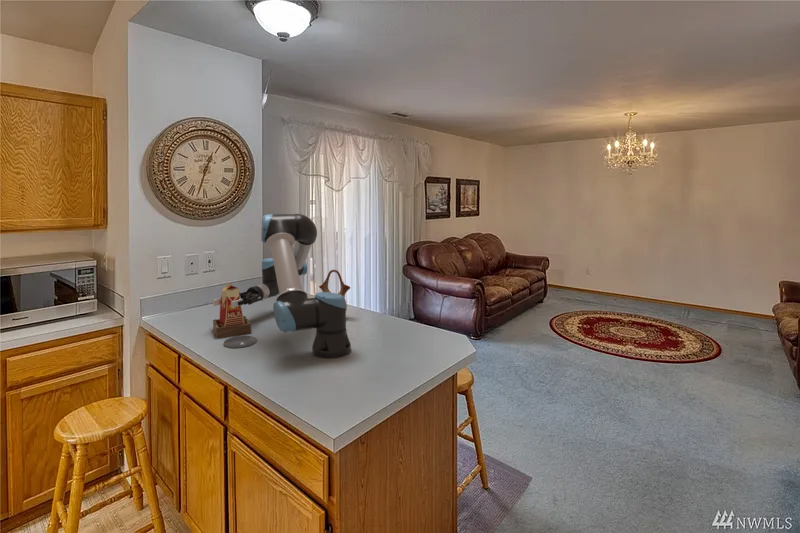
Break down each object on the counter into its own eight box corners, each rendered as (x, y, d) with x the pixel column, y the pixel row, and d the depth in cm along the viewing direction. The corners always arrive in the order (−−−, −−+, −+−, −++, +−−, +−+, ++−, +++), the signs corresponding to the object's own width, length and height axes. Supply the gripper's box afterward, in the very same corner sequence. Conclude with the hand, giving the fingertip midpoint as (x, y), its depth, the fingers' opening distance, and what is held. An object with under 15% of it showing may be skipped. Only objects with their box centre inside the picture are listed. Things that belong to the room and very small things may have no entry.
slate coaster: (259, 344, 172) (259, 343, 172) (226, 350, 166) (226, 348, 166) (253, 335, 183) (253, 333, 183) (221, 340, 177) (221, 338, 177)
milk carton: (245, 326, 188) (243, 282, 185) (224, 329, 182) (221, 284, 179) (239, 321, 195) (237, 279, 192) (218, 324, 190) (216, 281, 186)
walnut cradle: (251, 333, 186) (250, 323, 185) (217, 338, 179) (216, 328, 179) (245, 325, 198) (245, 315, 197) (213, 329, 191) (212, 320, 191)
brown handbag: (353, 317, 212) (353, 268, 208) (347, 322, 203) (346, 271, 199) (323, 315, 216) (322, 267, 211) (316, 320, 207) (314, 270, 203)
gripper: (276, 303, 200) (243, 314, 179) (240, 298, 208) (204, 309, 187) (275, 287, 198) (242, 297, 178) (239, 284, 206) (202, 293, 186)
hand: (222, 304), depth 182 cm, fingers closed on milk carton, 9 cm apart
